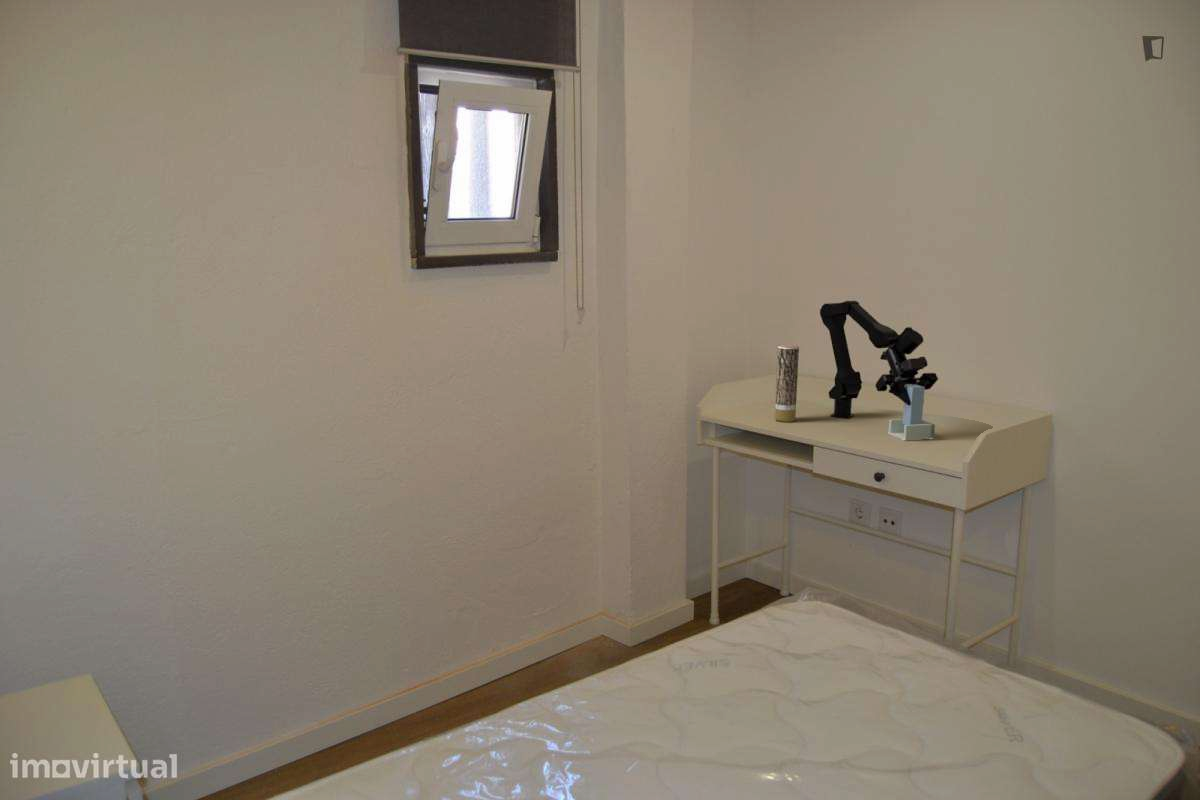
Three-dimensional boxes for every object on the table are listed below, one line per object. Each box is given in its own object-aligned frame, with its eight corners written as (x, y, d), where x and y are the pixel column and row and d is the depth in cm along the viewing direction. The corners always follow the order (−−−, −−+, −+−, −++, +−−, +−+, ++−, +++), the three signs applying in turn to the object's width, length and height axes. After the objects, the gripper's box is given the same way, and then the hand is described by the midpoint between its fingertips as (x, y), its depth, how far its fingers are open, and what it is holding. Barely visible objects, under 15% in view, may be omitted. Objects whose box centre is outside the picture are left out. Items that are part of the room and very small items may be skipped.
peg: (902, 423, 270) (905, 385, 268) (913, 422, 271) (917, 384, 269) (909, 426, 266) (912, 387, 264) (921, 425, 267) (924, 387, 265)
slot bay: (904, 440, 264) (905, 425, 263) (887, 433, 273) (888, 419, 272) (933, 439, 266) (935, 424, 265) (915, 432, 275) (917, 418, 274)
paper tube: (796, 419, 293) (800, 345, 289) (794, 423, 287) (797, 347, 282) (776, 417, 296) (779, 344, 291) (773, 421, 289) (776, 346, 285)
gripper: (883, 348, 266) (900, 390, 258) (937, 347, 270) (956, 388, 262) (867, 369, 275) (884, 411, 267) (920, 368, 279) (938, 408, 271)
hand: (916, 404), depth 266 cm, fingers closed on peg, 4 cm apart
